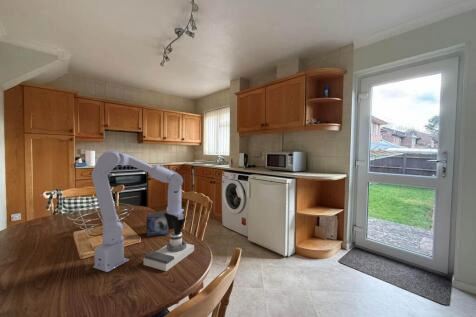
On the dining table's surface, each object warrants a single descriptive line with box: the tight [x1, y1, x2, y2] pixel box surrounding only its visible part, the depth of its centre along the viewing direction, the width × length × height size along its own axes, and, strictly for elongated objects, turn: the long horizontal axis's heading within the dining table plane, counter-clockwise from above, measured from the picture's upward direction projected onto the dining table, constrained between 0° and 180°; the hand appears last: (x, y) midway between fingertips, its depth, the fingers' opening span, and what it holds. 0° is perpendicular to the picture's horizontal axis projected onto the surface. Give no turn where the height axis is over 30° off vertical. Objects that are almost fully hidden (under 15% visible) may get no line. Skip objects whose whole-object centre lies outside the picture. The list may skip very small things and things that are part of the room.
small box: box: [145, 212, 169, 238], centre depth 114 cm, size 11×6×10 cm, turn 105°
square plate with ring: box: [143, 239, 195, 272], centre depth 89 cm, size 18×11×4 cm, turn 157°
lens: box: [169, 231, 183, 247], centre depth 93 cm, size 5×5×6 cm
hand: (174, 231), depth 93 cm, fingers open, 7 cm apart
